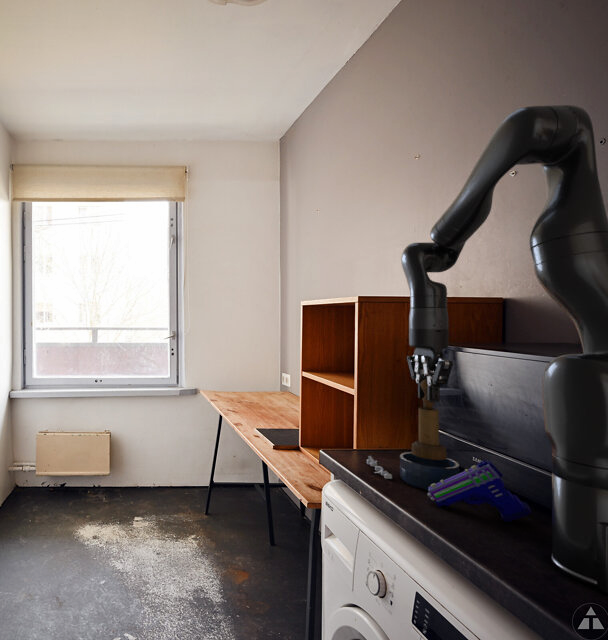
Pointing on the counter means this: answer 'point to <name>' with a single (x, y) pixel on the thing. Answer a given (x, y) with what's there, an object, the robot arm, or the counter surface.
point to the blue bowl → (425, 470)
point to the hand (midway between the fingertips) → (428, 400)
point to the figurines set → (378, 468)
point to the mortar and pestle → (428, 431)
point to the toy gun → (479, 491)
